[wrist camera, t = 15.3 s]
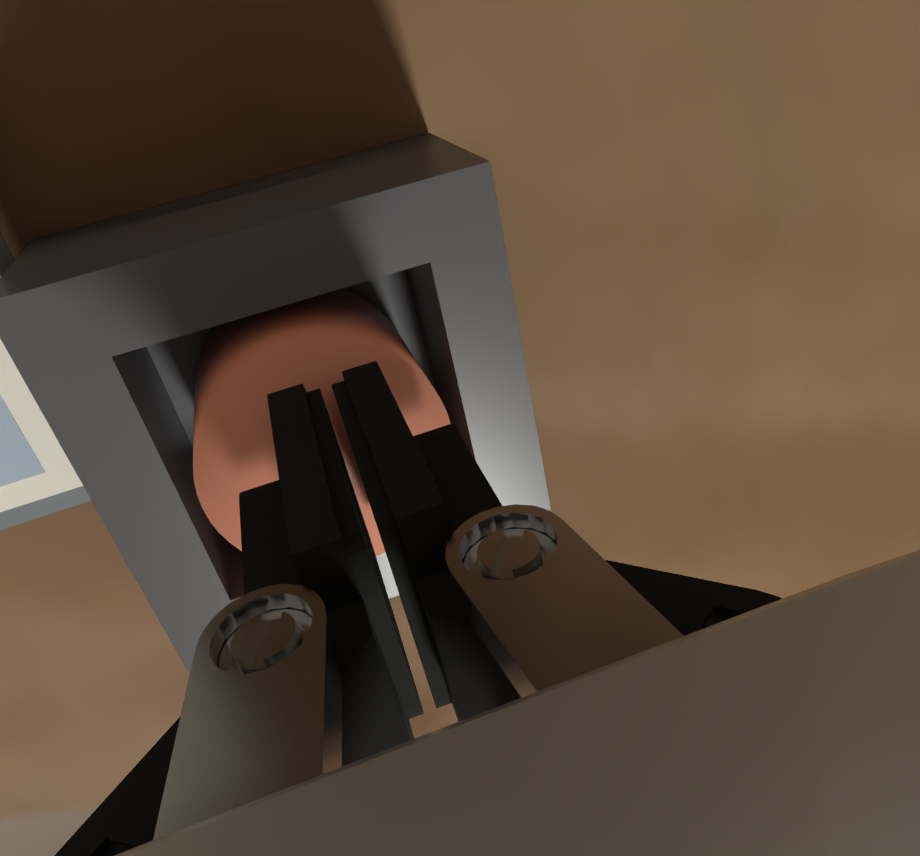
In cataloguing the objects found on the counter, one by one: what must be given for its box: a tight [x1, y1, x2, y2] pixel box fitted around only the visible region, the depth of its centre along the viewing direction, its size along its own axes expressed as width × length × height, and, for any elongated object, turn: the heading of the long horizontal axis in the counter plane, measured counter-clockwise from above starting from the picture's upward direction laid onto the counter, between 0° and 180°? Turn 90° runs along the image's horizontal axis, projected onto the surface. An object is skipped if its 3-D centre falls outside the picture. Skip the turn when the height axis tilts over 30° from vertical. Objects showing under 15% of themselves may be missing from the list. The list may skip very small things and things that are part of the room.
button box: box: [0, 133, 551, 672], centre depth 14 cm, size 7×7×4 cm
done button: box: [193, 289, 451, 556], centre depth 13 cm, size 4×4×3 cm
